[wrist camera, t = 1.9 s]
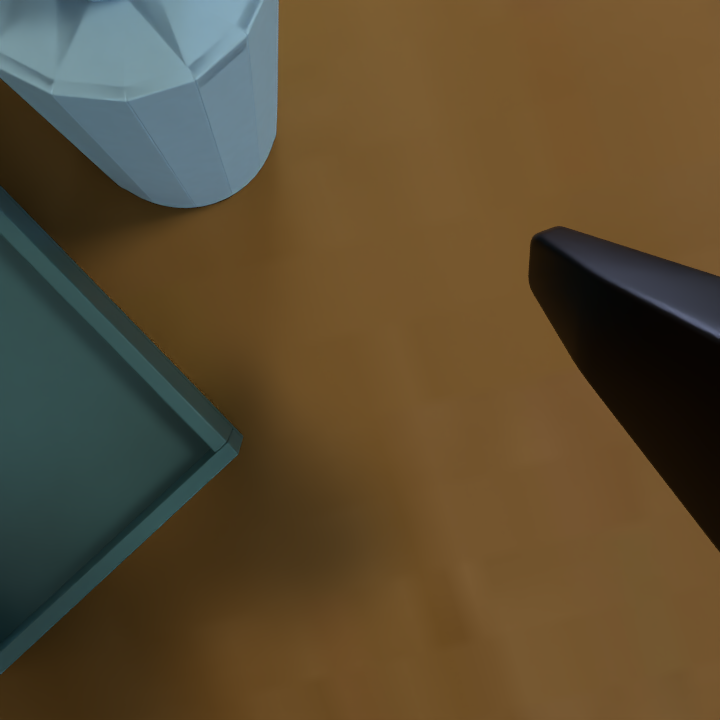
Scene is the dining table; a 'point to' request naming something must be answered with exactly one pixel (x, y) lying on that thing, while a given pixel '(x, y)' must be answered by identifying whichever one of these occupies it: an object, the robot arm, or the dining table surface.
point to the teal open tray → (83, 434)
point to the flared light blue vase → (152, 87)
